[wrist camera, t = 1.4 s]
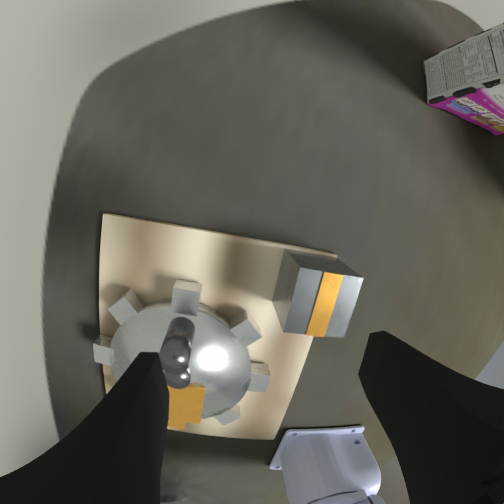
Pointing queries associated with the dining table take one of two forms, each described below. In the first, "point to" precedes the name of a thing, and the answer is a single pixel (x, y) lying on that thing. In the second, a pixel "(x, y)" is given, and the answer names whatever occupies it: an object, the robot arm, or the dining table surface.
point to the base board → (208, 302)
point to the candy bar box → (470, 80)
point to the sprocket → (188, 352)
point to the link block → (315, 294)
